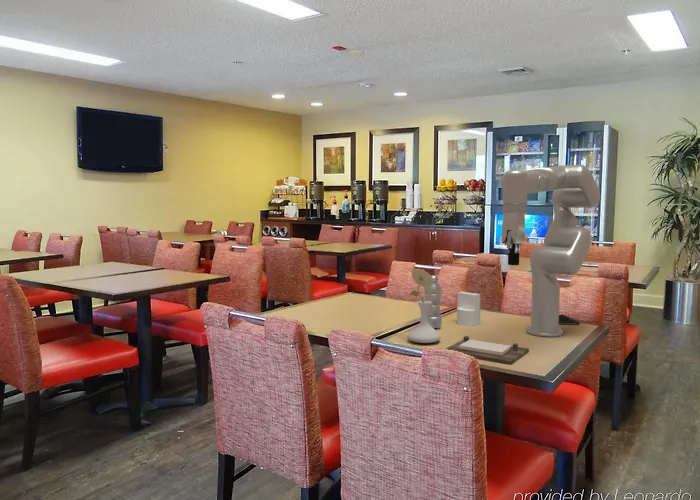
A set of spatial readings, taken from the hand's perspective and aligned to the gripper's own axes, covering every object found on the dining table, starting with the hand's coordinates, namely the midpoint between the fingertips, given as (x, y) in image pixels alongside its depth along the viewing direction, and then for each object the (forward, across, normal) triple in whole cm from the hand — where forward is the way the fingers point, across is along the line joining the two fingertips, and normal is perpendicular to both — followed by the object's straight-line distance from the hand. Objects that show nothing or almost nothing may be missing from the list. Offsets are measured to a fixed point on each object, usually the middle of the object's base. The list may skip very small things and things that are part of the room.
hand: (513, 264), depth 182 cm
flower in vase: (+27, +11, -27) cm, 40 cm away
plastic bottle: (+27, -8, -33) cm, 44 cm away
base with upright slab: (+27, -23, -25) cm, 44 cm away
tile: (+25, +13, -4) cm, 28 cm away
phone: (+28, -49, +4) cm, 56 cm away
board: (+27, +12, -4) cm, 30 cm away
